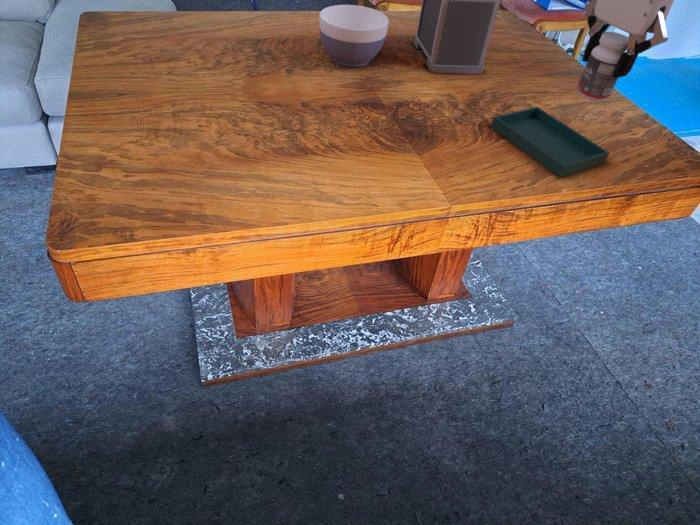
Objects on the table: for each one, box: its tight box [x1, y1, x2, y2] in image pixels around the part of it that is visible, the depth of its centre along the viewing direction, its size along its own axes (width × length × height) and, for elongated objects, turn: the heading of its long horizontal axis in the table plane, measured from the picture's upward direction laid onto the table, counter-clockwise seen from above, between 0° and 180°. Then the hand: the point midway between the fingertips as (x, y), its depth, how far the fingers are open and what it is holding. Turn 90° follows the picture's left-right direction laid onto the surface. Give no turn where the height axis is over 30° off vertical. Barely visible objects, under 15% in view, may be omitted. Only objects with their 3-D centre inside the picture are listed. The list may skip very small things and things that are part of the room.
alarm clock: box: [413, 0, 502, 75], centre depth 121 cm, size 18×13×18 cm
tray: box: [490, 106, 610, 178], centre depth 100 cm, size 19×12×2 cm, turn 30°
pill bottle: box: [576, 31, 629, 102], centre depth 86 cm, size 6×6×10 cm
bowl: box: [318, 4, 390, 68], centre depth 118 cm, size 16×16×10 cm
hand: (604, 67), depth 86 cm, fingers closed on pill bottle, 5 cm apart
